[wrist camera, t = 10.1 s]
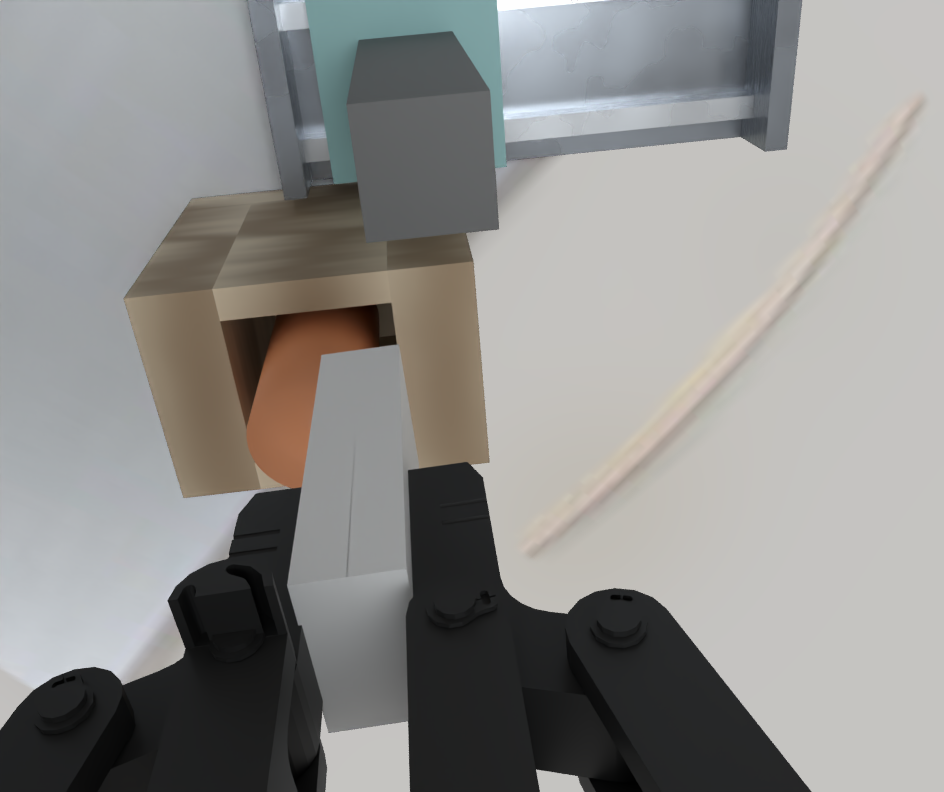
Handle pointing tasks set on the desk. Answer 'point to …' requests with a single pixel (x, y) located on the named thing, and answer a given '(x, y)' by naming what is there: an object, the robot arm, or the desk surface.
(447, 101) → the carriage
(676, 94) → the rail track
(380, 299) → the wooden box
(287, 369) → the orange cylinder
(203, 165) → the desk surface
